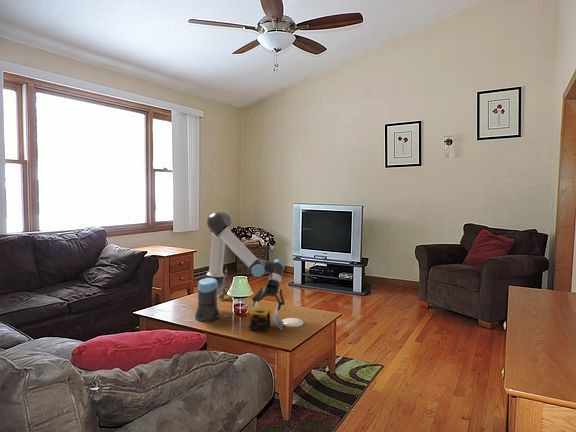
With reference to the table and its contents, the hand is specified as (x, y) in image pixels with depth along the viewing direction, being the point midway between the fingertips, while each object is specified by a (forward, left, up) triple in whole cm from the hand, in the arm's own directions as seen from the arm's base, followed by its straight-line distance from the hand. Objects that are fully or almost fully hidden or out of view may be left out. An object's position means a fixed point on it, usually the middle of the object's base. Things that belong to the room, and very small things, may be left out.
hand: (264, 313), depth 234 cm
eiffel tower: (-15, +59, -8) cm, 62 cm away
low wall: (+8, -1, -7) cm, 11 cm away
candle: (-3, -4, -8) cm, 9 cm away
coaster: (+17, +1, -7) cm, 19 cm away
